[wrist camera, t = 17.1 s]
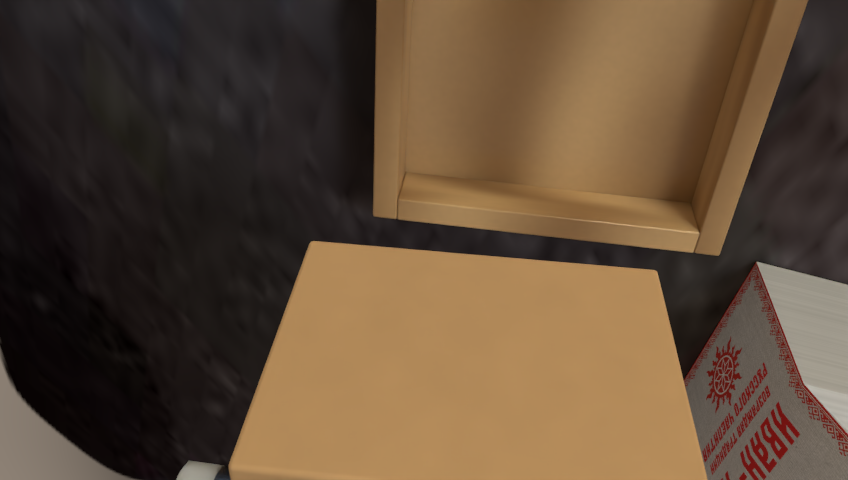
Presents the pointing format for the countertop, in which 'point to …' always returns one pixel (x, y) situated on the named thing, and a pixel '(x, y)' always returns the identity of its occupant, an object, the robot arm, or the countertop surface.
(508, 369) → the light brown block
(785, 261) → the countertop surface
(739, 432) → the white and red box
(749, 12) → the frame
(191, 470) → the robot arm
